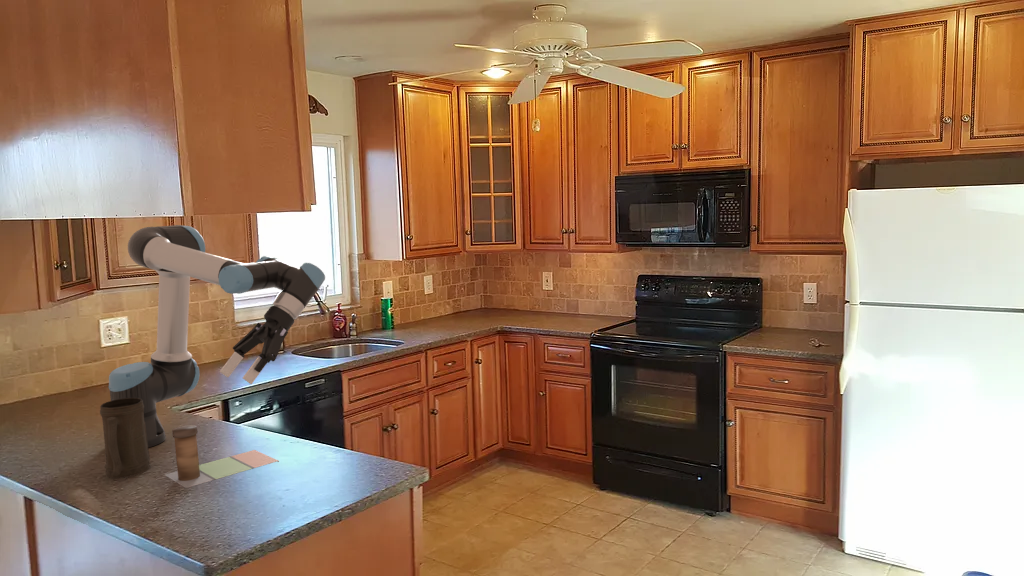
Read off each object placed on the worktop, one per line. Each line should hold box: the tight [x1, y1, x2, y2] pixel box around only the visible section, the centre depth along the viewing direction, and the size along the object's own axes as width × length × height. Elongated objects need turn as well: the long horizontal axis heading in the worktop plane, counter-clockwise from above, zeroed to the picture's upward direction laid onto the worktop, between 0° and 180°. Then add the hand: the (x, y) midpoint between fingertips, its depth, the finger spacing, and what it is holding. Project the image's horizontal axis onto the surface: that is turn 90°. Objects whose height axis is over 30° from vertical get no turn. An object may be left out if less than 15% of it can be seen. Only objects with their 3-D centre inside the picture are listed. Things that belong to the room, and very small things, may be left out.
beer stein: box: [99, 398, 151, 479], centre depth 184 cm, size 15×11×20 cm
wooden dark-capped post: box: [171, 424, 200, 481], centre depth 180 cm, size 6×6×12 cm
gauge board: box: [164, 449, 280, 489], centre depth 186 cm, size 14×24×1 cm, turn 135°
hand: (234, 377), depth 187 cm, fingers open, 13 cm apart
